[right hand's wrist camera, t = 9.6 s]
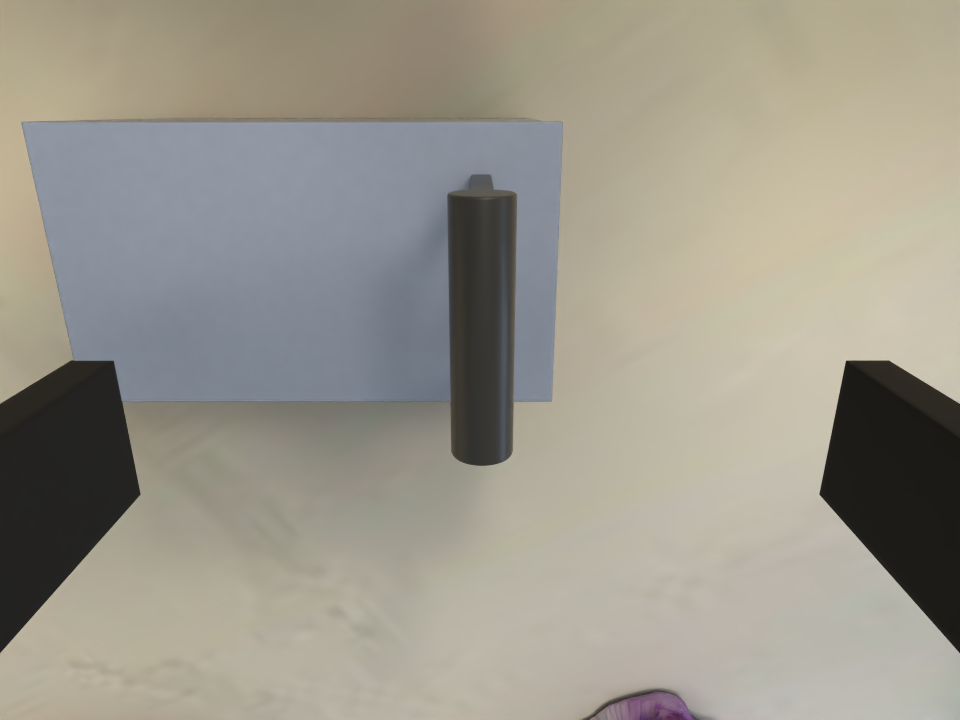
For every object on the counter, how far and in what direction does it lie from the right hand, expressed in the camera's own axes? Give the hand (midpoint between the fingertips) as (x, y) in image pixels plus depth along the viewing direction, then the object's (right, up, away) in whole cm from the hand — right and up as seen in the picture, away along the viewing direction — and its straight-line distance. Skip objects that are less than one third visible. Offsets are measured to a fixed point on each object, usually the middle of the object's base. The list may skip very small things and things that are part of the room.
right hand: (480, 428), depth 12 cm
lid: (-6, +5, +13) cm, 15 cm away
